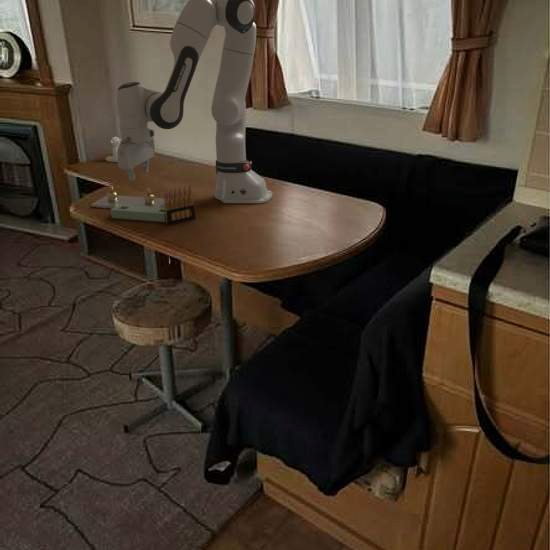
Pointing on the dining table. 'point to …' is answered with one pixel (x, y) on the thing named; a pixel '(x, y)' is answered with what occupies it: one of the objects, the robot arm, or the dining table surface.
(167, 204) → the ammunition clip
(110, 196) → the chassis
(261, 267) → the dining table surface
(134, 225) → the dining table surface
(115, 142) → the sitting furry creature
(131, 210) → the board
